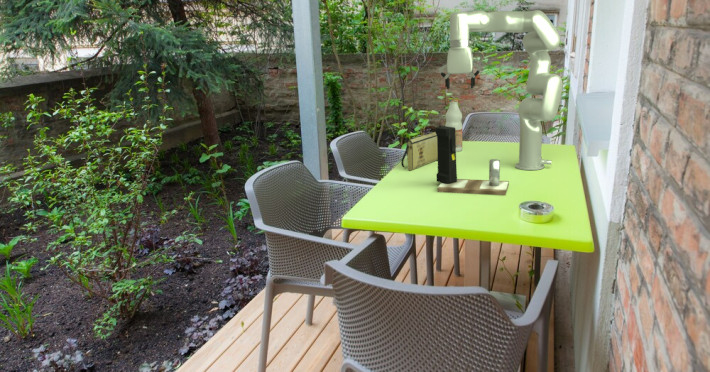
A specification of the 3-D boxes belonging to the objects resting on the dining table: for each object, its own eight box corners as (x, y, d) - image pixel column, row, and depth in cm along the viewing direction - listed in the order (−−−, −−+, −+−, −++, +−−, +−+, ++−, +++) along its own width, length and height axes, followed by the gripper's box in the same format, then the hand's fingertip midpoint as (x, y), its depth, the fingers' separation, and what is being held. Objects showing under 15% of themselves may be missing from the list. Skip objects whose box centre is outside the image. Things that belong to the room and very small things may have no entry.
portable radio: (460, 182, 203) (459, 121, 197) (448, 184, 200) (448, 123, 194) (446, 178, 210) (446, 119, 203) (436, 181, 207) (434, 121, 200)
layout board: (508, 184, 203) (508, 180, 202) (505, 195, 188) (505, 191, 188) (445, 181, 212) (445, 177, 211) (437, 191, 198) (437, 187, 197)
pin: (499, 183, 198) (500, 159, 195) (498, 186, 194) (499, 161, 192) (489, 183, 199) (489, 159, 197) (488, 186, 196) (488, 161, 193)
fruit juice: (441, 151, 276) (441, 100, 269) (451, 148, 282) (451, 98, 275) (455, 152, 269) (455, 100, 262) (465, 149, 276) (466, 99, 269)
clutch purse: (429, 159, 258) (428, 130, 254) (441, 160, 254) (440, 131, 250) (397, 171, 236) (396, 139, 232) (410, 172, 232) (409, 140, 228)
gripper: (483, 43, 198) (482, 86, 203) (439, 46, 204) (440, 88, 208) (481, 43, 191) (481, 88, 196) (436, 46, 197) (437, 90, 202)
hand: (460, 88), depth 202 cm, fingers open, 9 cm apart
